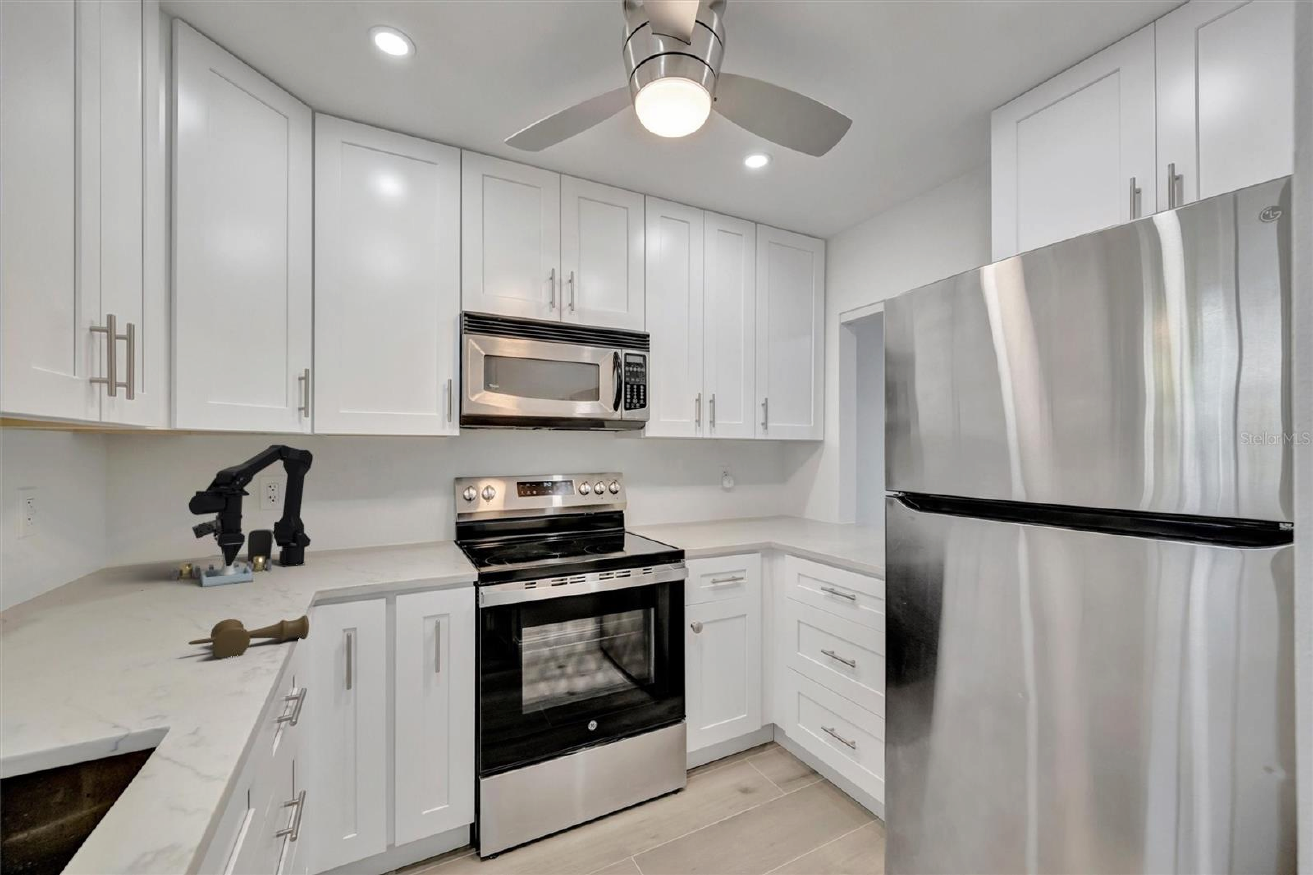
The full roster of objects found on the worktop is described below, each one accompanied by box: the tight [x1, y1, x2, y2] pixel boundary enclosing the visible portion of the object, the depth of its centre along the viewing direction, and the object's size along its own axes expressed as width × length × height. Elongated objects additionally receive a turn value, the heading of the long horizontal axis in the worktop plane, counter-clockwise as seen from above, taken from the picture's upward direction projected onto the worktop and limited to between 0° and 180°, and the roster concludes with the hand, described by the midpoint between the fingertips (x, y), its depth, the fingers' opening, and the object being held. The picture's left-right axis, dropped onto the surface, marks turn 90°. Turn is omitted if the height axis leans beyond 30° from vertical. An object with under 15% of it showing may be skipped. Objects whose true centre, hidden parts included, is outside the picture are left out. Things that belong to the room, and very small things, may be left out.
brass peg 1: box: [178, 561, 194, 580], centre depth 165 cm, size 3×3×4 cm
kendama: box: [188, 614, 310, 659], centre depth 112 cm, size 6×10×20 cm
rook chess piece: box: [218, 552, 236, 576], centre depth 163 cm, size 4×4×8 cm
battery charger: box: [246, 528, 274, 564], centre depth 189 cm, size 7×4×11 cm, turn 113°
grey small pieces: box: [171, 559, 273, 581], centre depth 171 cm, size 24×4×3 cm, turn 133°
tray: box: [200, 566, 254, 588], centre depth 163 cm, size 12×12×2 cm
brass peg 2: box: [252, 556, 266, 573], centre depth 177 cm, size 3×3×4 cm
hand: (227, 563), depth 163 cm, fingers open, 9 cm apart
